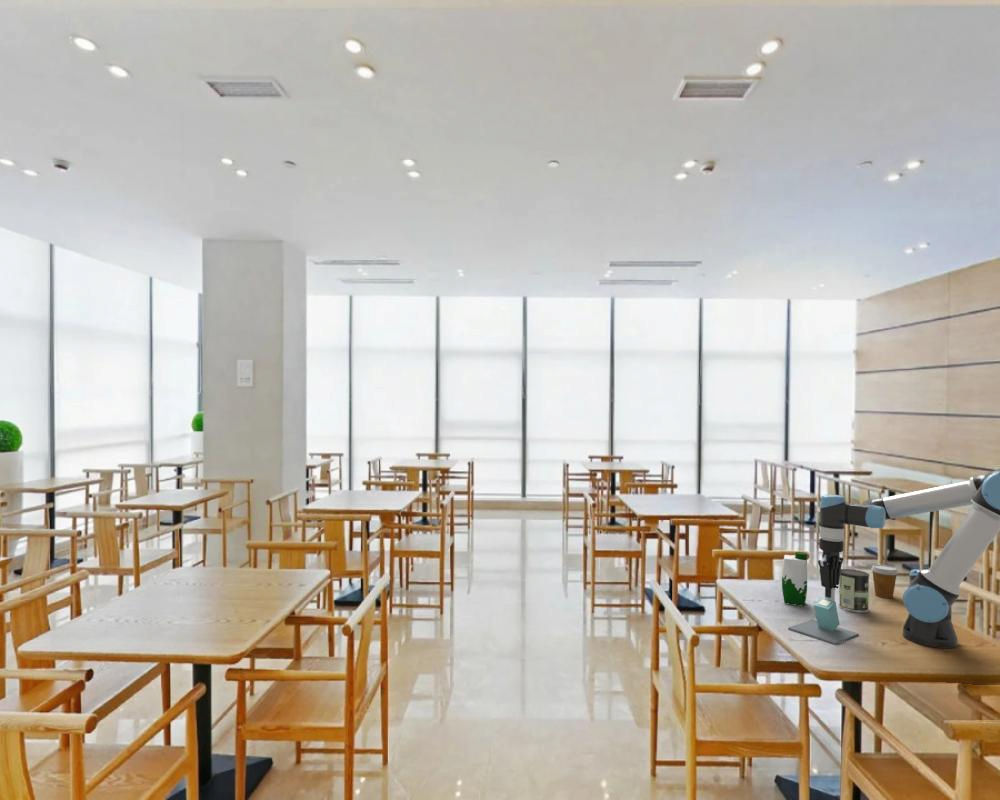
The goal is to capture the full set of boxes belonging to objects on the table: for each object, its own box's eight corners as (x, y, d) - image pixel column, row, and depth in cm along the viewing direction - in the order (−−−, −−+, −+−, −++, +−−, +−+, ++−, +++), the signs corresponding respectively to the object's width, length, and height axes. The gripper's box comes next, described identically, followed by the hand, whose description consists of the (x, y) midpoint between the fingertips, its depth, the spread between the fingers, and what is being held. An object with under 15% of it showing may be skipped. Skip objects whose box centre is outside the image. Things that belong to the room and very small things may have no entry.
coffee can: (868, 607, 236) (869, 571, 236) (868, 614, 227) (869, 577, 227) (838, 602, 241) (839, 567, 241) (837, 609, 232) (838, 572, 232)
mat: (858, 635, 205) (858, 633, 205) (835, 644, 196) (835, 642, 196) (812, 620, 218) (812, 619, 218) (788, 629, 209) (788, 627, 209)
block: (839, 624, 208) (835, 601, 207) (832, 631, 206) (828, 608, 204) (825, 619, 213) (820, 597, 211) (818, 627, 210) (813, 604, 208)
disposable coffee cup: (903, 599, 248) (903, 569, 248) (883, 599, 246) (884, 570, 246) (883, 591, 257) (884, 564, 257) (865, 592, 255) (865, 564, 255)
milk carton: (807, 607, 233) (808, 556, 233) (781, 603, 237) (782, 553, 237) (806, 601, 241) (807, 551, 241) (781, 597, 245) (782, 548, 245)
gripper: (830, 535, 217) (828, 600, 217) (810, 538, 210) (809, 605, 210) (851, 539, 211) (849, 606, 211) (832, 543, 204) (830, 612, 203)
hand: (829, 606), depth 210 cm, fingers closed
